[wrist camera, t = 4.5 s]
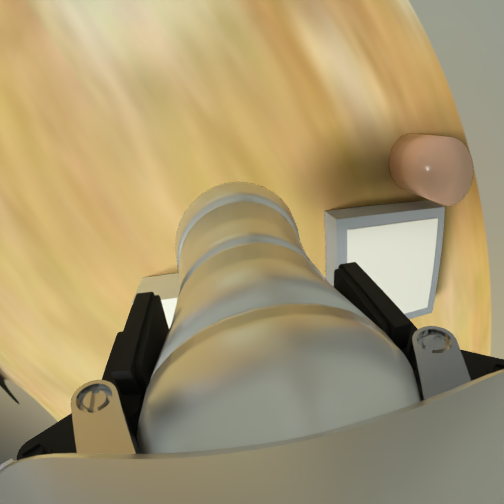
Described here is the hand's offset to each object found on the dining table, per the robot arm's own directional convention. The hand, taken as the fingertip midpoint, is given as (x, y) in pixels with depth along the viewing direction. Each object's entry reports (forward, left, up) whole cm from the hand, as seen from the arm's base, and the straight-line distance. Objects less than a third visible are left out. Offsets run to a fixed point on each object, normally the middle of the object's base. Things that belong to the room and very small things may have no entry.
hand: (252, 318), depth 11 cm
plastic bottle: (0, 0, -10) cm, 10 cm away
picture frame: (+8, +15, -18) cm, 25 cm away
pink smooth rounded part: (-2, +19, -18) cm, 26 cm away
